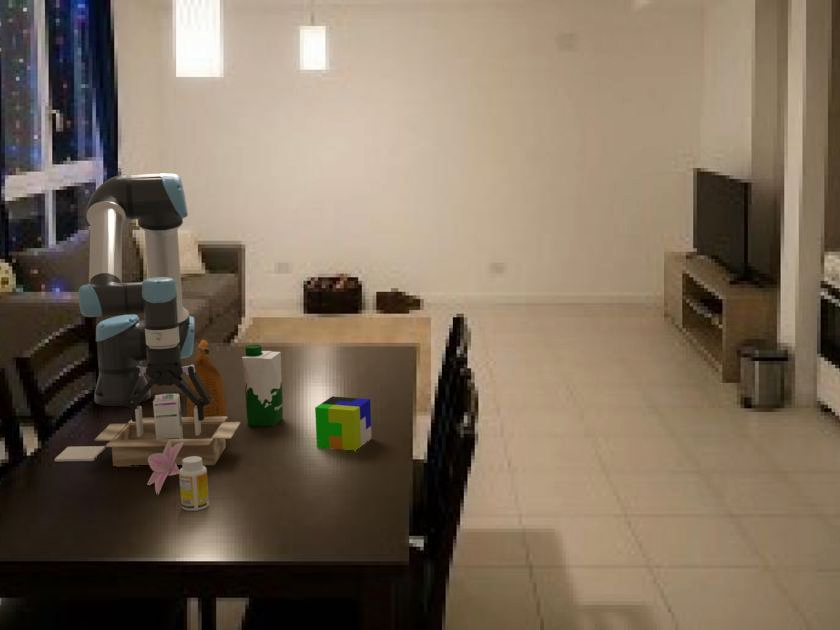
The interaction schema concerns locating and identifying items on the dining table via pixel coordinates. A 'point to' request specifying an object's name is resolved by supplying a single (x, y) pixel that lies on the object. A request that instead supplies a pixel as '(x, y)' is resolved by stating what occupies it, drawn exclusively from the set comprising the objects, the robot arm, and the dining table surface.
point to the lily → (163, 465)
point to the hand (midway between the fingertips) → (169, 434)
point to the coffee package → (208, 385)
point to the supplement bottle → (193, 484)
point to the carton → (140, 448)
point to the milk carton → (263, 386)
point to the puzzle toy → (343, 423)
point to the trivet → (80, 453)
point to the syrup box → (167, 416)
